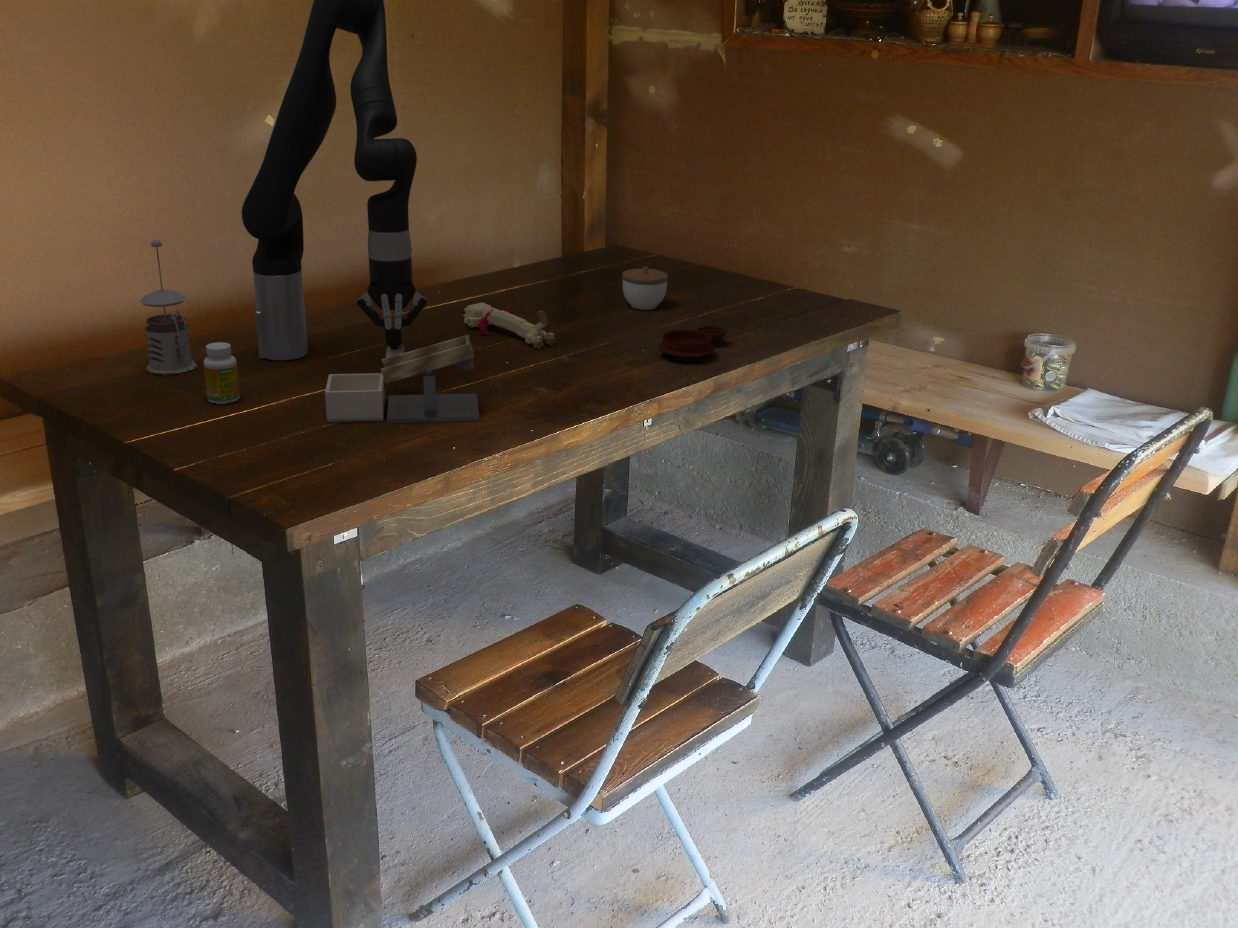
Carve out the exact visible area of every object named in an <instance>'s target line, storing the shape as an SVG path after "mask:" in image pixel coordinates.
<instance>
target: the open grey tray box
mask: <svg viewBox="0 0 1238 928" xmlns="http://www.w3.org/2000/svg"><path fill="white" fill-rule="evenodd" d="M343 390H348V391H343ZM324 396H325V410H326V411H325V413H326V423H350V422H353V423H354V422H383V421H384V417H385V415H384V414H385V405H386V404H385V403H386V395H385V380H384V377H383V374H382V372H381V373H371V372H370V373H338V374H337V373H335V374H334V373H333V374H332V373H329V374H328V377H327V383H326V387H325V391H324Z"/></svg>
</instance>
